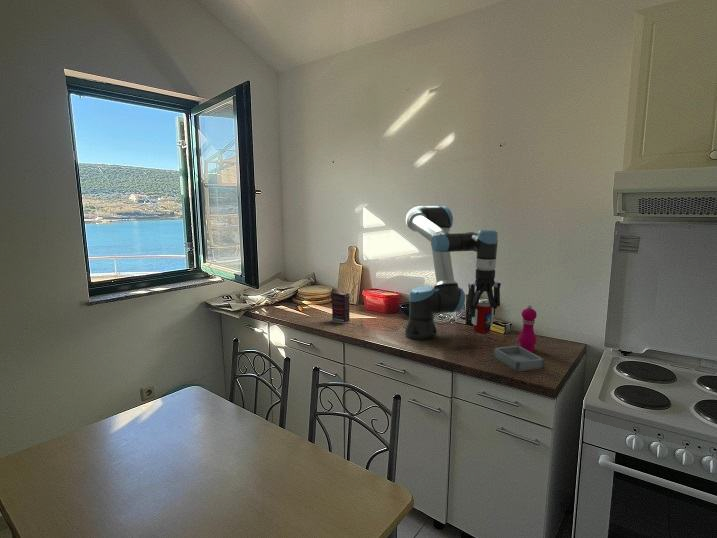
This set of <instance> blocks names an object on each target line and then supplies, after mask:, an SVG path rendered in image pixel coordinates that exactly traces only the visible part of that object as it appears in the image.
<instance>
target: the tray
mask: <svg viewBox="0 0 717 538" xmlns="http://www.w3.org/2000/svg"><path fill="white" fill-rule="evenodd" d="M492 351H493V353H492V357H494V359H495V358H496V359H497V360H498V361H500V362H502V363H503V364H505V365H506V366H508V367H510V368H511V369H512V370H514V371H516V372H524V371H530V370H540V369H544V368H545V361H546V359H545V358H542V357H541V356H539V355H537V354H535V353H533V352H530V351H528V350H526V349H524V348H522V347H520V346H519V345H512V346H502V347H493V349H492Z"/></svg>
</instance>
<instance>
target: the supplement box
mask: <svg viewBox="0 0 717 538" xmlns="http://www.w3.org/2000/svg"><path fill="white" fill-rule="evenodd" d="M331 311H332V312H331V313H332V314H331V316H332V319H331V320H332V321H331V322H333V323H338V324H345V325H346V324H347V323H350V322H351V321H350V293H348V292H343V291H342V292H341V291H334V292H331Z"/></svg>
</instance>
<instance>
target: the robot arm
mask: <svg viewBox="0 0 717 538" xmlns="http://www.w3.org/2000/svg"><path fill="white" fill-rule="evenodd" d="M453 221H454V216H453V214H452V211H451V209H450V208H448V207H447V206H443V205H442V206H441V205H425V206H424V205H419V206H414V207H413V208H411V209H410V210H409V211H408V212H407V214H406V217H405V224H406V226H407V228H409V230H411V231H412V232H416V233H418V234H420V235H421V236H422V237H423V238H425V239H427V241H429V242H430V246H431V252H432V253H431V254H432V260H433V266H434V273H435V281H436V283H435V285H433V286H430V285H424V286H417V287H414V288H413V289H411V290H410V291H409V298H408V300H409V303H408V304H409V305H408V306H409V307H408V308H409V311H408V312H409V313H408V315H409V317H408V322H407V324H406V327H405V331H404V333H405V334H404V335H405V337H406V338H409V339H410V340H411V339H412V340H415V341H416V340H419V341H429V340H435V339H436V338H437V336H438V330H437V327H436V324H435V321H434V320H435V319H434V318H435V317H434V315H435V314H445V313H448V314H449V313H451V314H452V313H456V312H458V313H459V312H460V311H461V310H462V309H463V308H464V306H465V302H466V307H467V308H469V310H470V314H469V315H470V317H471V324H472V325H473V326H474V325H477V312H478V310H477V309H476V307H477V304H478V303H480V299H481V296H482V294H483V293H484V292H486V295H487V299H488V304H490V306H491V308H492V316H491V325H493V323H494V316H495V315H496V310H497V309H498V307H500V306H501V291H500V290H501V282H498V281H495V277H496V270H495V269H496V266H497V252H498V242H499V240H498V238H499V237H498V231H496V230H494V229H493V230H491V229H481V230H479V231H478V233H477V232H475V231H468V232H461V233H460V232H459V233H450V230H451V228H452V227H453V224H454V222H453ZM451 252H476V261H475V281H474V282H473V283H468V285H467V286H468V293H467V298H466V294H465V291H464V289H463V288H461V287H460V286H459V283H458V282H457V281H456V280H455V277H454V270H453V264H452V263H453V262H452V256H451ZM466 299H467V300H466ZM465 300H466V301H465Z"/></svg>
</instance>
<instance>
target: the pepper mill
mask: <svg viewBox="0 0 717 538" xmlns="http://www.w3.org/2000/svg"><path fill="white" fill-rule="evenodd" d="M537 316H538V314H537V312H536V310H535V309H533V306H532V305H531V304H528V305H527V308H524V309H523V310H522V311H521V317H522V322H521V323H522V324H523V325H522V326H523V327H522V330H521V331H520V334H519V335H518V339H517V340H518V342H519V345H518V346H520V347H522V348H524V349H526V350H528V351H530V352H531V353H533V352H535V348H536V347H535V344H537V337H536V334H535V331H534V325H535V322H536V318H537Z"/></svg>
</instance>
